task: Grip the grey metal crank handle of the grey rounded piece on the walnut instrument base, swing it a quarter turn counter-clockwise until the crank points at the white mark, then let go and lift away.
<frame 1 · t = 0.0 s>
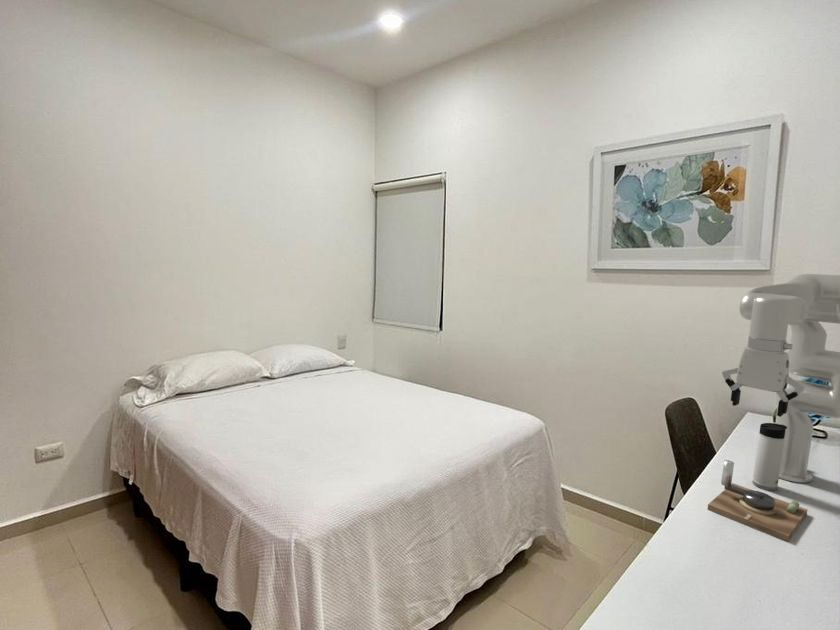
hand: (757, 409, 118), 31 cm above the table, tool pointing down, fingers open, 9 cm apart
travel mug: (765, 486, 142), on the table
grey rounded piece: (748, 483, 128), point 7 cm above the table, hinge at 0.0°
instrument base: (756, 511, 127), on the table
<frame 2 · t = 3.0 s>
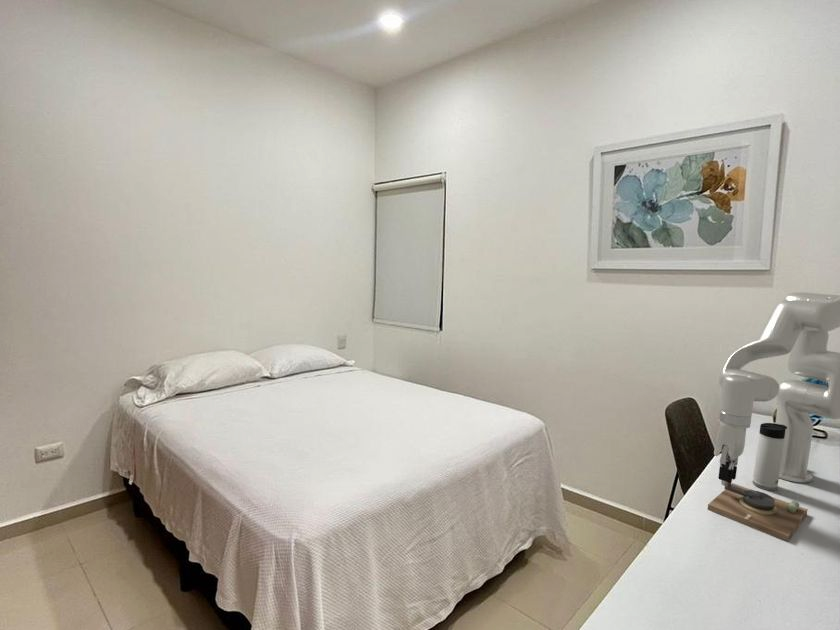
hand: (726, 478, 132), 6 cm above the table, tool pointing down, fingers closed on grey rounded piece, 2 cm apart
grey rounded piece: (748, 483, 128), point 7 cm above the table, hinge at 0.0°, touching gripper
everything else where it was.
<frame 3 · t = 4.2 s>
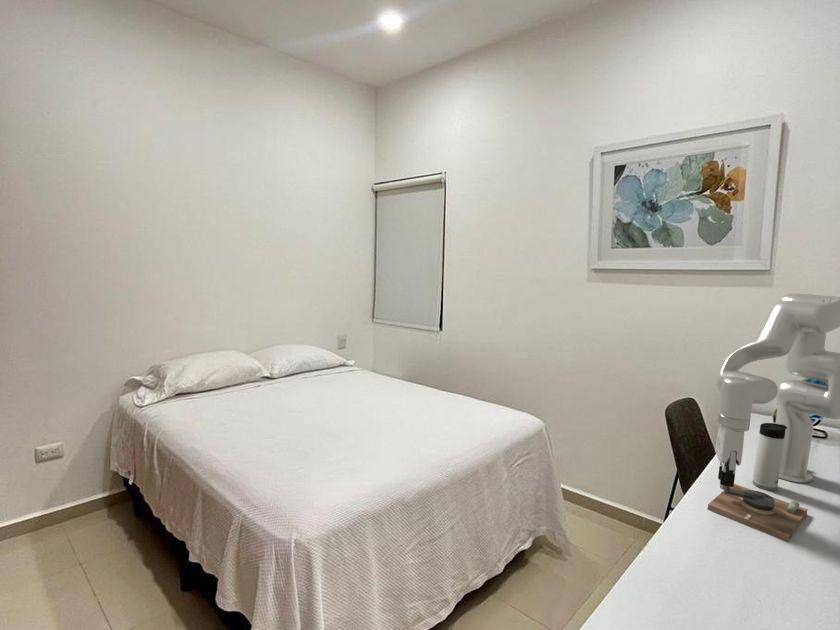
hand: (725, 482, 130), 6 cm above the table, tool pointing down, fingers closed on grey rounded piece, 2 cm apart
grey rounded piece: (747, 485, 127), point 7 cm above the table, hinge at 21.1°, touching gripper
everything else where it was.
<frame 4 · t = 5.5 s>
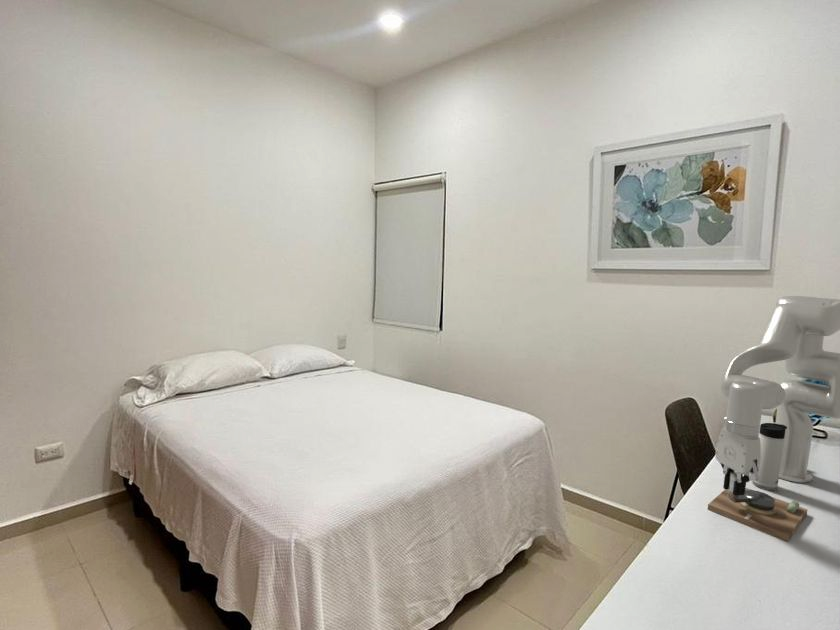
hand: (733, 491, 125), 6 cm above the table, tool pointing down, fingers closed on grey rounded piece, 2 cm apart
grey rounded piece: (750, 488, 126), point 7 cm above the table, hinge at 56.9°, touching gripper
everything else where it was.
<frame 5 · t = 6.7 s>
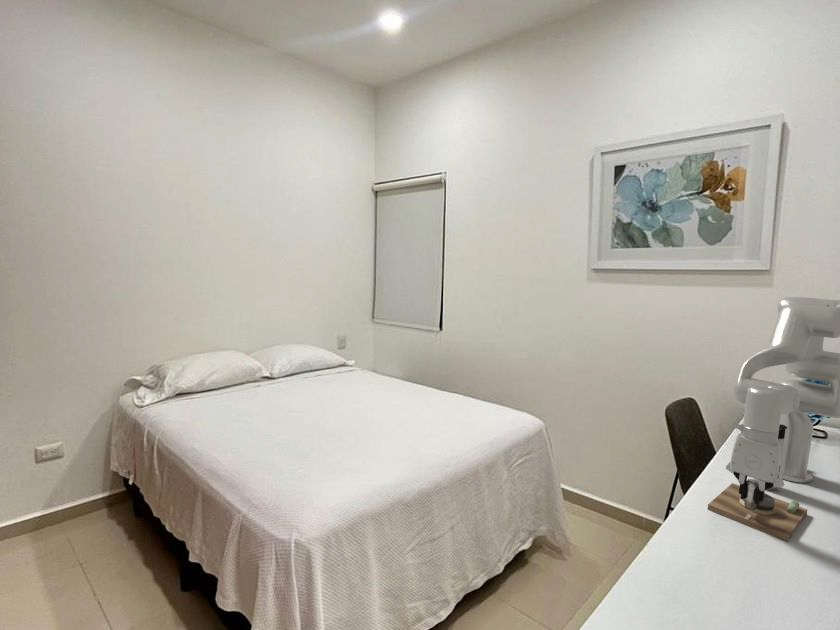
hand: (750, 499, 121), 6 cm above the table, tool pointing down, fingers closed on grey rounded piece, 2 cm apart
grey rounded piece: (756, 491, 124), point 7 cm above the table, hinge at 89.5°, touching gripper
everything else where it was.
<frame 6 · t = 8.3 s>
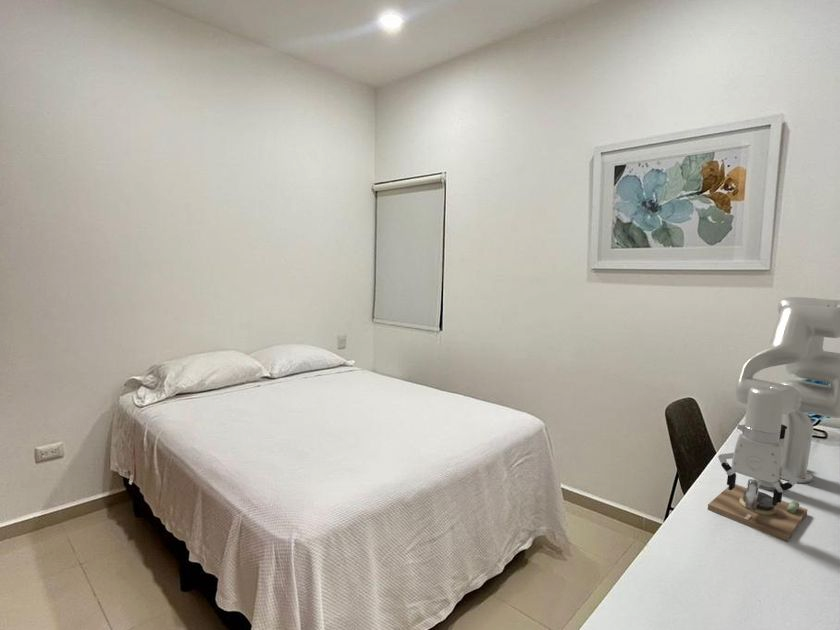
hand: (752, 495, 121), 8 cm above the table, tool pointing down, fingers open, 9 cm apart
grey rounded piece: (757, 491, 124), point 7 cm above the table, hinge at 90.9°
everything else where it was.
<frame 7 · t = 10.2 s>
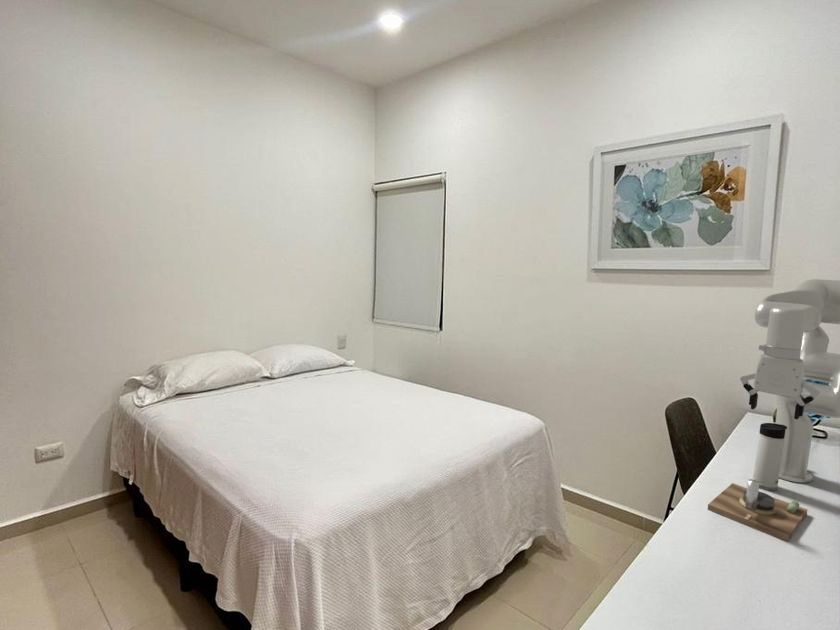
hand: (774, 412, 125), 28 cm above the table, tool pointing down, fingers open, 9 cm apart
nothing on the table moved.
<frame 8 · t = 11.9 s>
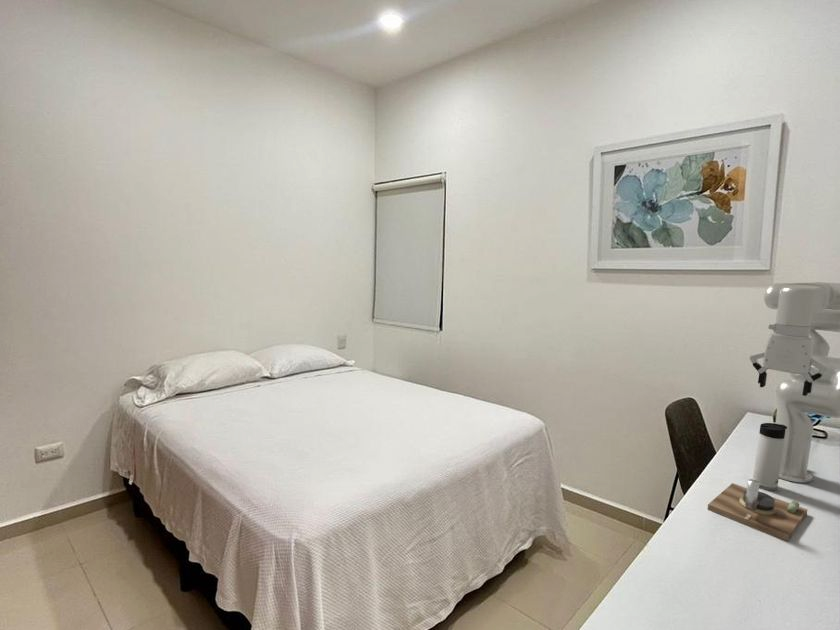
hand: (783, 390, 129), 33 cm above the table, tool pointing down, fingers open, 9 cm apart
nothing on the table moved.
at the end: grey rounded piece at +91° (first picture: +0°); the gripper is holding nothing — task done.
